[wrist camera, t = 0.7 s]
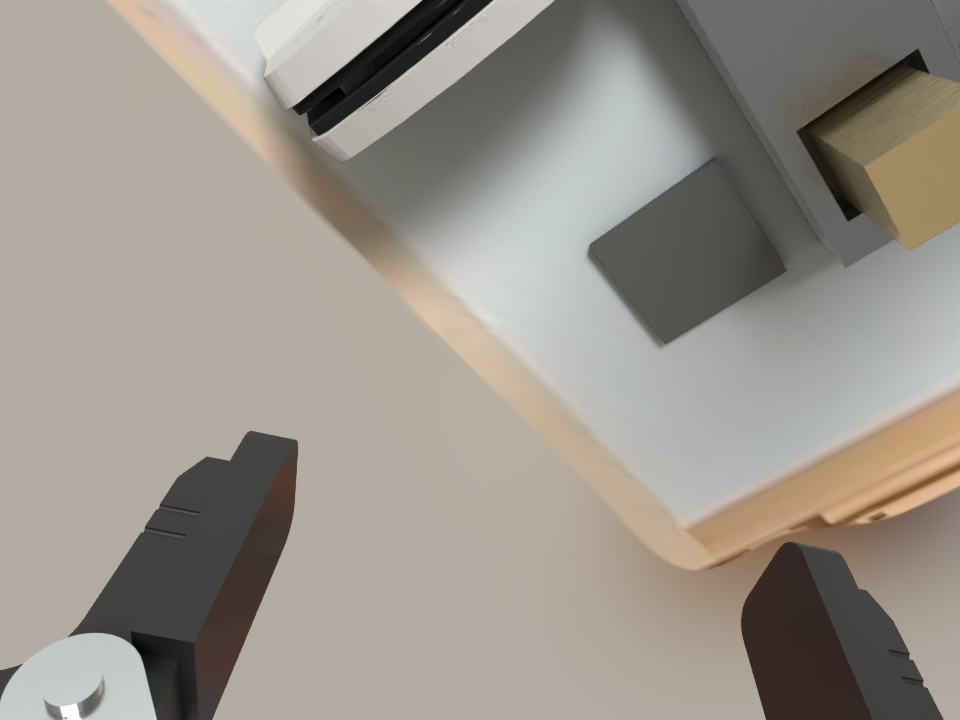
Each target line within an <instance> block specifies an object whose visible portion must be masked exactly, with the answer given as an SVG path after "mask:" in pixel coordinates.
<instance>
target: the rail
mask: <svg viewBox="0 0 960 720" xmlns="http://www.w3.org/2000/svg"><path fill="white" fill-rule="evenodd" d="M675 1H676V3H677V4H678V6H679V8H680V9H681V11H682V13H683V14H684V16H685V18H686V19H687V21H688V23H689V24H690V26H691V28H692V29H693V31H694V33H695V34H696V36H697V38H698V39H699V41H700V43H701V44H702V46H703V48H704V49H705V51H706V53H707V54H708V56H709V57H710V59H711V61H712V62H713V64H714V66H715V67H716V69H717V71H718V72H719V74H720V76H721V77H722V79H723V81H724V82H725V84H726V86H727V87H728V89H729V91H730V92H731V94H732V96H733V97H734V99H735V101H736V102H737V104H738V106H739V107H740V109H741V111H742V112H743V114H744V116H745V117H746V119H747V121H748V122H749V124H750V126H751V127H752V129H753V131H754V132H755V134H756V136H757V137H758V139H759V141H760V142H761V144H762V146H763V147H764V149H765V151H766V152H767V154H768V156H769V157H770V159H771V161H772V162H773V164H774V166H775V167H776V169H777V171H778V172H779V174H780V176H781V177H782V179H783V181H784V182H785V184H786V186H787V187H788V189H789V191H790V192H791V194H792V196H793V197H794V199H795V201H796V202H797V204H798V206H799V207H800V209H801V211H802V212H803V214H804V216H805V217H806V219H807V221H808V222H809V224H810V225H811V227H812V229H813V230H814V232H815V234H816V235H817V237H818V239H819V240H820V242H821V244H822V245H823V246H824V247H825V248H826V249H827V250H828V251H829V252H830V253H831V254H832V255H833V256H834V257H835V258H836V259H837V260H838V261H839V262H840V263H841V264H842V265H843V266H844V267H845V268H846V267H848V266H849V265H851V264H853V263H854V262H856V261H858V260H860V259H861V258H863V257H865V256H866V255H868V254H870V253H872V252H873V251H875V250H877V249H878V248H880V247H882V246H883V245H885V244H887V243H889V242H890V241H892V240H894V238H893V237H891V236H890V235H889V234H888V233H886V232H885V231H884V230H883V229H881V228H880V227H879V226H878V225H876V224H875V223H874V222H873V221H871V220H870V219H869V218H868V217H866V216H865V215H864V214H863V213H861V212H860V211H859V210H858V209H856V208H855V207H854V206H853V205H851V204H850V203H849V202H848V201H846V200H845V199H844V198H843V197H841V196H840V195H839V194H838V193H836V192H835V193H833V194H832V193H831V192H830V190H829V188H828V186H827V185H826V183H825V181H824V179H823V178H822V176H821V174H820V172H819V171H818V169H817V167H816V165H815V164H814V162H813V160H812V158H811V157H810V155H809V153H808V151H807V150H806V148H805V146H804V144H803V143H802V141H801V139H800V137H799V136H798V134H797V132H796V131H798V130H799V129H800V128H802V127H803V126H805V125H806V124H808V123H809V122H811V121H812V120H814V119H815V118H817V117H818V116H820V115H821V114H822V113H824V112H825V111H827V110H828V109H830V108H831V107H833V106H834V105H836V104H837V103H839V102H840V101H842V100H843V99H844V98H846V97H847V96H849V95H850V94H852V93H853V92H855V91H856V90H858V89H859V88H861V87H862V86H864V85H865V84H866V83H868V82H869V81H871V80H872V79H874V78H875V77H877V76H878V75H880V74H881V73H883V72H884V71H886V70H887V69H888V68H890V67H891V66H893V65H894V64H896V63H897V64H900V65H903V66H906V67H909V68H912V69H916V70H919V71H922V72H925V73H928V74H931V75H934V76H937V77H940V78H944V79H947V80H950V81H953V82H956V83H959V84H960V63H959V61H958V59H957V57H956V54H955V52H954V50H953V47H952V45H951V43H950V41H949V38H948V36H947V34H946V31H945V29H944V27H943V25H942V22H941V20H940V18H939V15H938V13H937V11H936V9H935V6H934V4H933V2H932V0H675Z"/></svg>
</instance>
